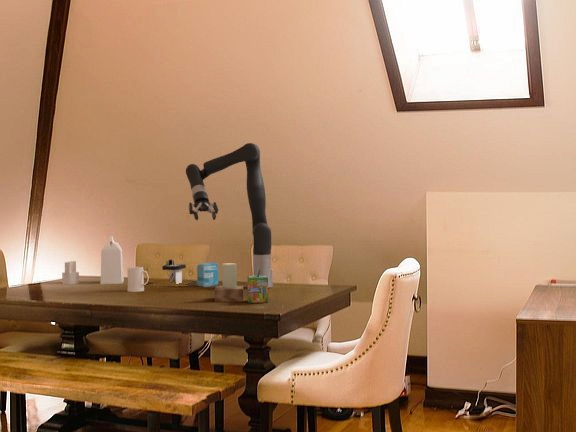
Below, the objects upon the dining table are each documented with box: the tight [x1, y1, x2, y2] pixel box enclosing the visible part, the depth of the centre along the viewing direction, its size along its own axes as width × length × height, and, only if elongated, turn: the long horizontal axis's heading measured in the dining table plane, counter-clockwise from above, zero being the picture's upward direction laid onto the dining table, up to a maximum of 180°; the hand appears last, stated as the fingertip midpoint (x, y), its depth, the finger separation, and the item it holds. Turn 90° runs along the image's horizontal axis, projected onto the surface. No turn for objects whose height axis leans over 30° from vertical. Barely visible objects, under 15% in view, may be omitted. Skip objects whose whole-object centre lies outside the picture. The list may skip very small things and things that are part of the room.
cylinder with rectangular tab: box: [61, 260, 80, 285], centre depth 449 cm, size 9×9×12 cm
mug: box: [126, 266, 150, 293], centre depth 409 cm, size 12×8×12 cm
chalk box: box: [246, 269, 269, 304], centre depth 363 cm, size 9×9×15 cm
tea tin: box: [221, 262, 238, 288], centre depth 371 cm, size 5×5×11 cm
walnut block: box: [214, 285, 245, 303], centre depth 372 cm, size 13×13×6 cm
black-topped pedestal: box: [149, 258, 197, 287], centre depth 441 cm, size 28×26×13 cm
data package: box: [196, 262, 219, 288], centre depth 428 cm, size 12×4×12 cm, turn 142°
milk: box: [100, 235, 125, 285], centre depth 450 cm, size 12×12×26 cm
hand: (205, 219), depth 397 cm, fingers open, 8 cm apart
